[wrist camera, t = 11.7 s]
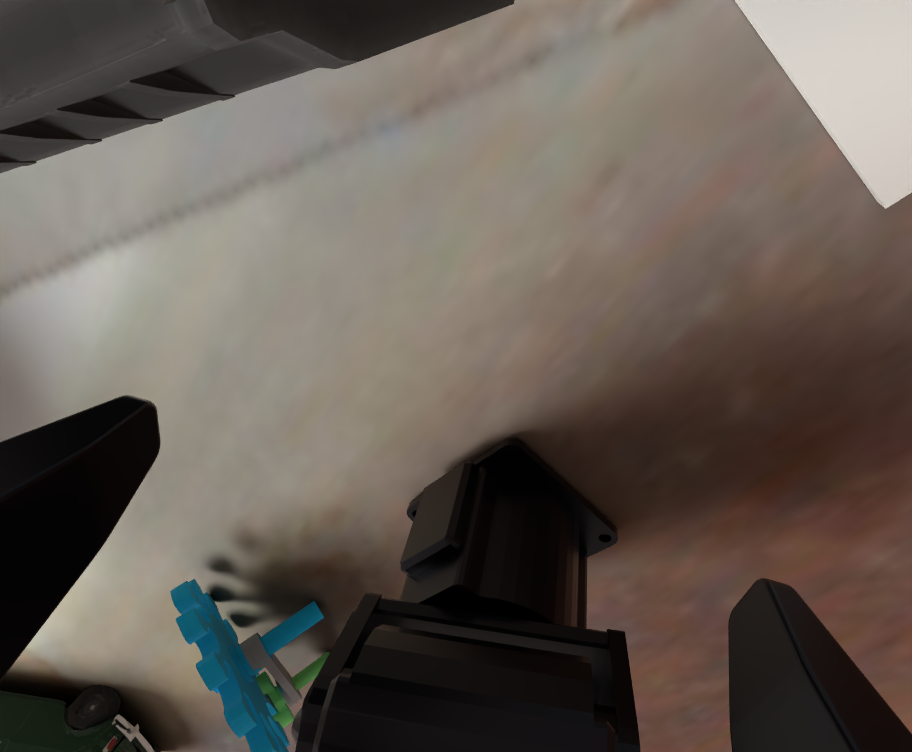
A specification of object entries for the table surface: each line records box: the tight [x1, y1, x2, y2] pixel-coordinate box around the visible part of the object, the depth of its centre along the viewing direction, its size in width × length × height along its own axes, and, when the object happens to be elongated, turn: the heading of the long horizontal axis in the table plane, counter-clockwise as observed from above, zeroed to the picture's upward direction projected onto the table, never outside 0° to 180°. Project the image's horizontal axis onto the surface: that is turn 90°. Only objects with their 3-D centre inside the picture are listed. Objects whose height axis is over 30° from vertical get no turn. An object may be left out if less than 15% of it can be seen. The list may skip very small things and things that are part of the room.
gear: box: [171, 579, 330, 752], centre depth 31 cm, size 11×6×10 cm
